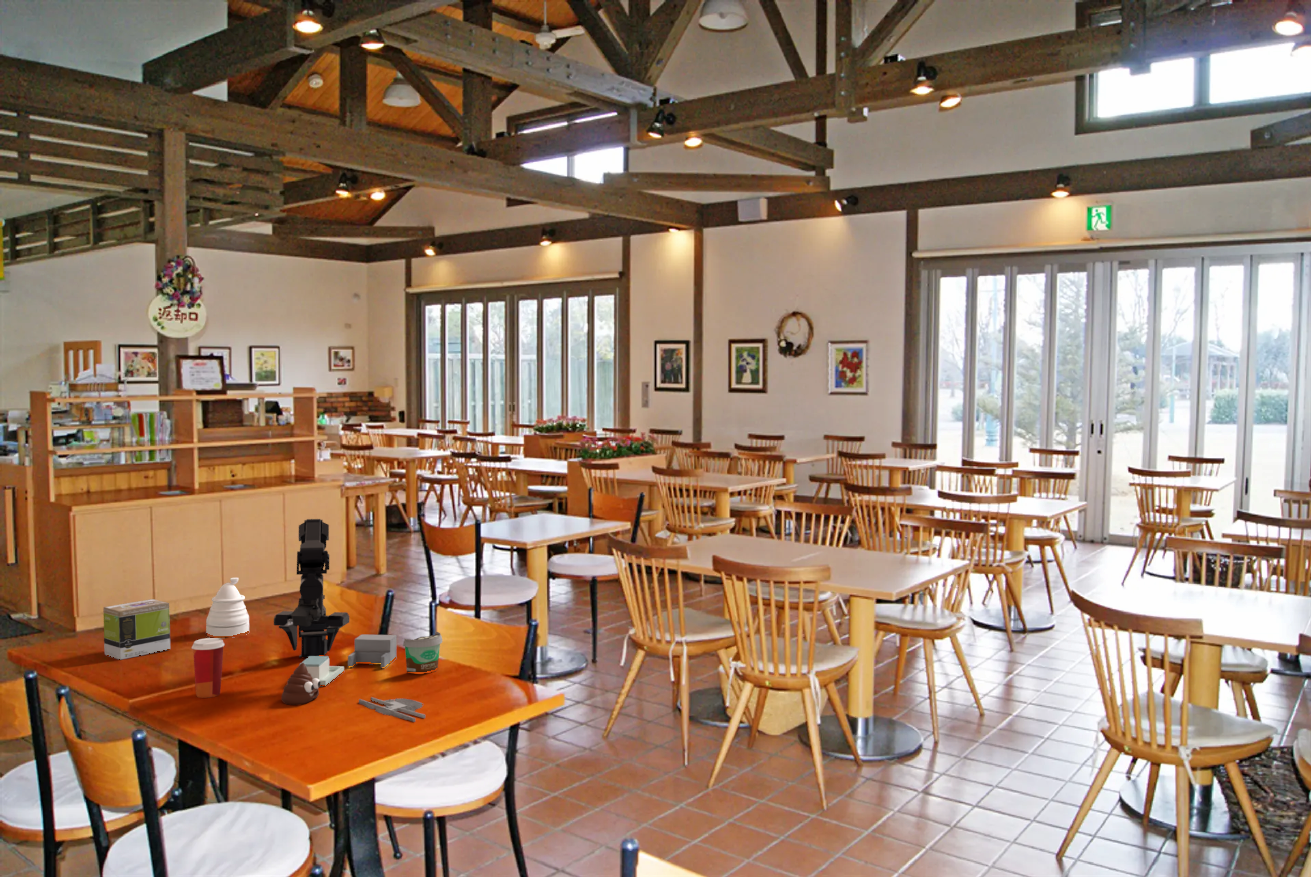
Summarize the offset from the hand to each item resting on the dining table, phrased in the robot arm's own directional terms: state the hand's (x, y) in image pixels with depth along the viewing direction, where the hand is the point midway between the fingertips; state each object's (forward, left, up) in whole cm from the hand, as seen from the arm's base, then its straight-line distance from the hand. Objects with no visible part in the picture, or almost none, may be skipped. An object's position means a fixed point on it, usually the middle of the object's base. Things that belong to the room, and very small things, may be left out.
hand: (311, 650), depth 258 cm
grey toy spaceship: (+29, -21, -9) cm, 37 cm away
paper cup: (-22, -13, -9) cm, 27 cm away
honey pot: (-48, +52, -9) cm, 72 cm away
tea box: (-63, +26, -9) cm, 69 cm away
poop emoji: (+3, -15, -9) cm, 18 cm away
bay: (+10, +21, -9) cm, 24 cm away
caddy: (0, +3, -8) cm, 9 cm away
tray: (0, +4, -9) cm, 10 cm away
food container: (+28, +13, -9) cm, 32 cm away
